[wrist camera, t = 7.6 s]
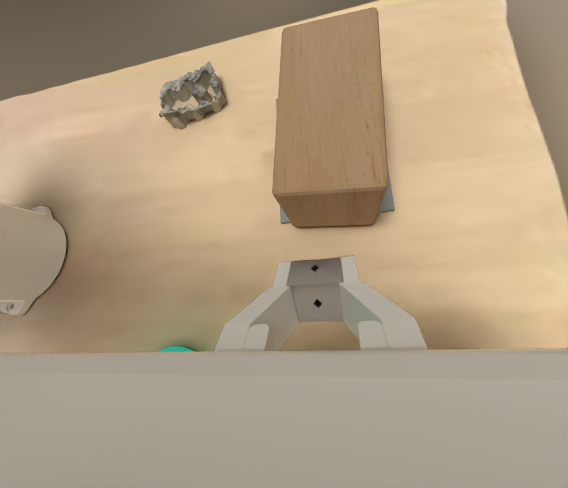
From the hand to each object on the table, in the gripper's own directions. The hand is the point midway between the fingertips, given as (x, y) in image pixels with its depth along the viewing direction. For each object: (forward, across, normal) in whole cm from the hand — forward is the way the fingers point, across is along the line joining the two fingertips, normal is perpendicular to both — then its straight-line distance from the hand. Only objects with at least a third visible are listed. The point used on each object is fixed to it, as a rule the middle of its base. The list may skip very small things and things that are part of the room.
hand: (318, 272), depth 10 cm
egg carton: (+38, +20, -9) cm, 43 cm away
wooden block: (+15, 0, +4) cm, 16 cm away
